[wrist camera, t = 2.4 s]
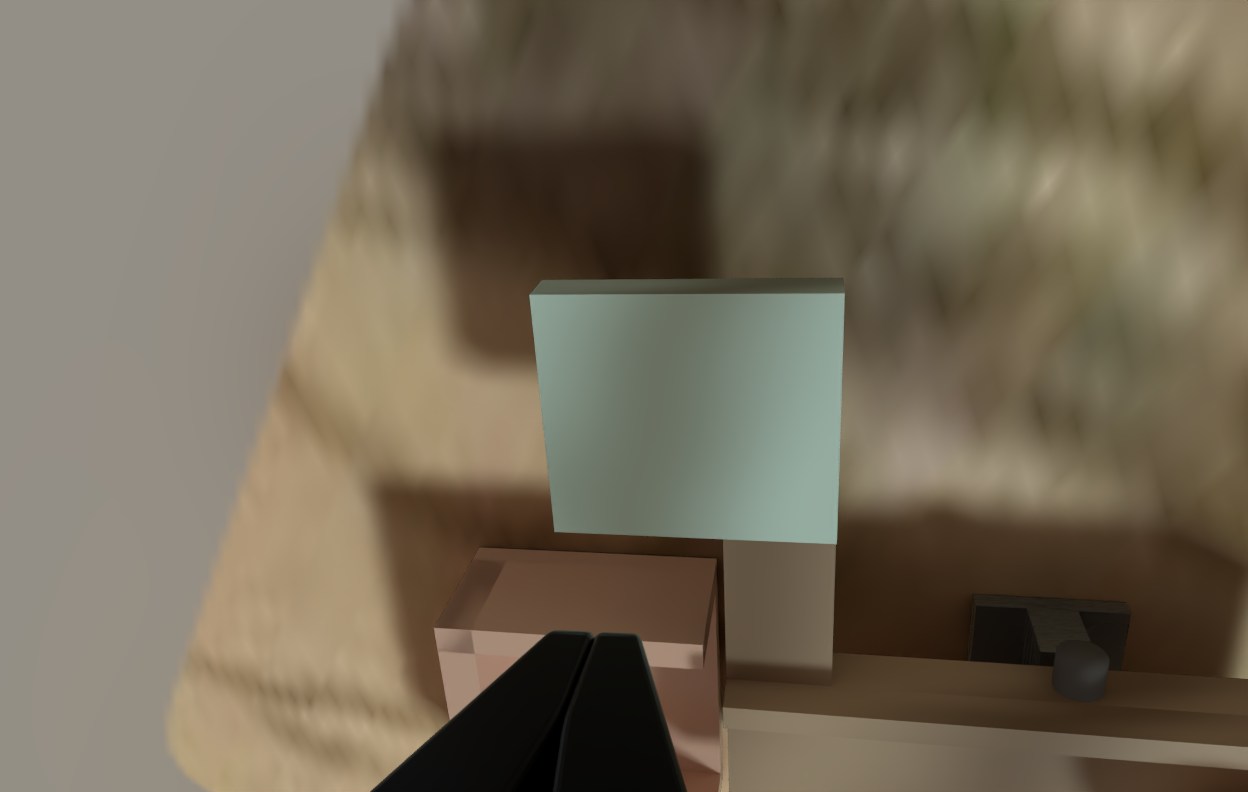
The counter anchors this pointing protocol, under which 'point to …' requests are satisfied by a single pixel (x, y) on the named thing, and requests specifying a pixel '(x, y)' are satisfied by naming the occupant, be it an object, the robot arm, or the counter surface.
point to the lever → (823, 559)
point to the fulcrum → (1043, 628)
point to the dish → (596, 631)
